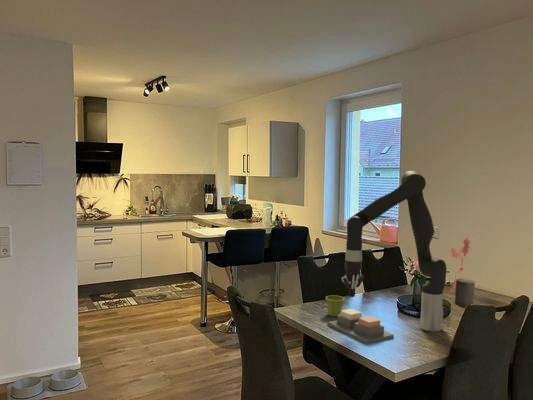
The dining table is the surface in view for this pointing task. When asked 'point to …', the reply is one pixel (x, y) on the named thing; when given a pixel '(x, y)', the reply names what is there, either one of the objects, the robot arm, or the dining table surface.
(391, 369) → the dining table surface
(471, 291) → the pillar candle
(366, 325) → the terracotta key
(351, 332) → the key panel
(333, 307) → the plant pot
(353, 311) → the cream key
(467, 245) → the pink flower sprig
